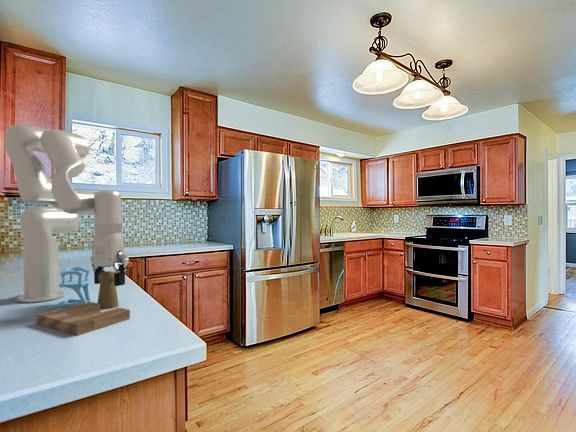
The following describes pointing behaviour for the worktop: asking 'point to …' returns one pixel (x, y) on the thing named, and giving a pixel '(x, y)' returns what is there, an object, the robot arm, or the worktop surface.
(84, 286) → the chair
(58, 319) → the notched board
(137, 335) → the worktop surface
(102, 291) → the cork
